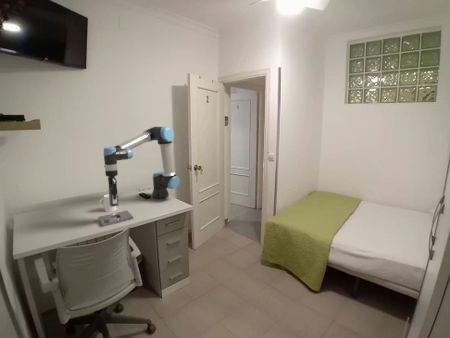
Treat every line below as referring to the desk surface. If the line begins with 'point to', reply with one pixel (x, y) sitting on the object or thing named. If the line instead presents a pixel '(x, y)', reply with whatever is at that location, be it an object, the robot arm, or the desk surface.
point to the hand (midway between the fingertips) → (113, 202)
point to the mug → (108, 204)
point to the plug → (111, 198)
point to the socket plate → (108, 219)
